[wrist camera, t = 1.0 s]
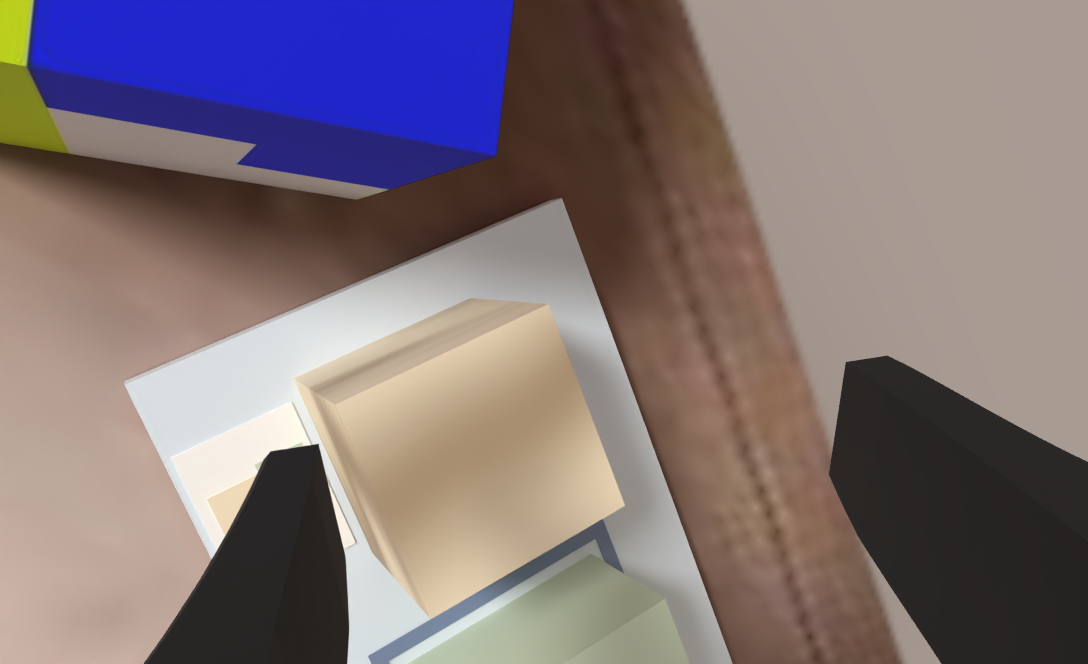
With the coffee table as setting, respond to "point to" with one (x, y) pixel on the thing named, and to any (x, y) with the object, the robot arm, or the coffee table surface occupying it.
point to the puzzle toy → (260, 86)
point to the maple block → (462, 446)
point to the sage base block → (571, 624)
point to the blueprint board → (284, 422)
